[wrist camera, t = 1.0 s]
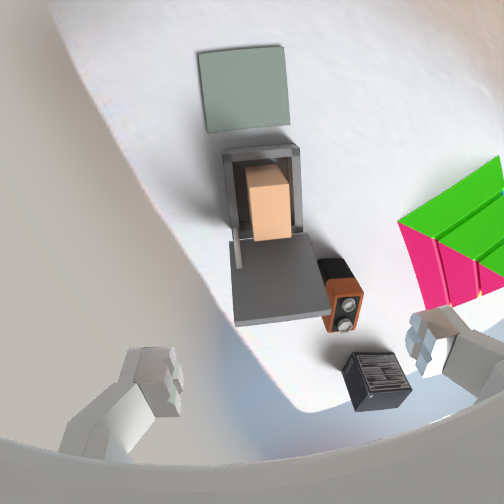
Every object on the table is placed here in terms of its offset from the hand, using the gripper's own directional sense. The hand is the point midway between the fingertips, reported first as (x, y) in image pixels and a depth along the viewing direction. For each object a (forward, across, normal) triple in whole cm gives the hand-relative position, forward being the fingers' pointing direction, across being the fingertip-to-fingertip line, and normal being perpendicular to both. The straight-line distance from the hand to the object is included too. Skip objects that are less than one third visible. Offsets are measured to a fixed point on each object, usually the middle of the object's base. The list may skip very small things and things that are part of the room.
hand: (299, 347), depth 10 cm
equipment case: (+33, -2, +6) cm, 33 cm away
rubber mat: (+32, -1, -9) cm, 33 cm away
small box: (+34, -21, +42) cm, 58 cm away
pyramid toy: (+34, -38, +16) cm, 53 cm away
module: (+32, -2, +4) cm, 33 cm away
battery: (+33, -11, +19) cm, 40 cm away
